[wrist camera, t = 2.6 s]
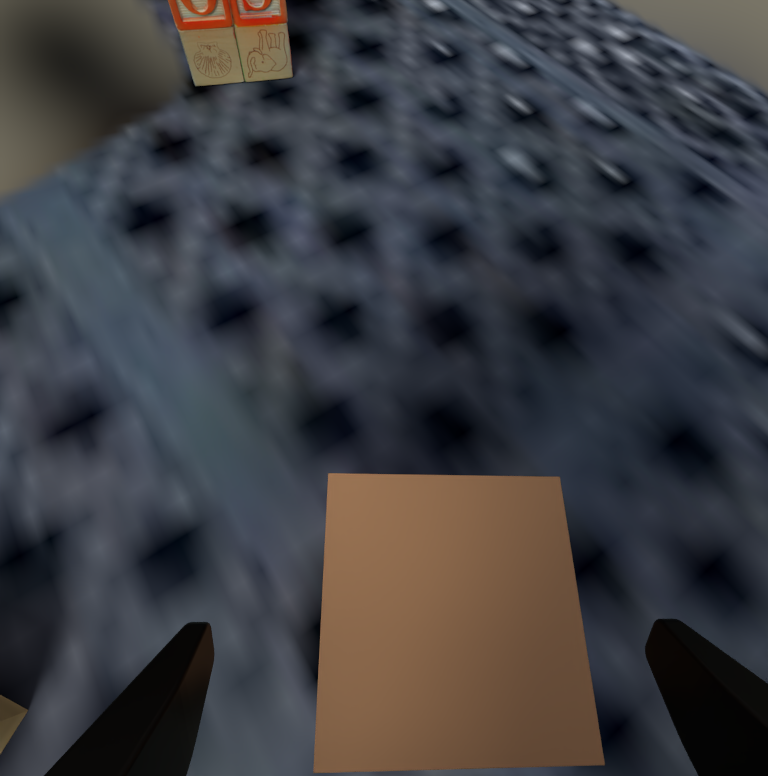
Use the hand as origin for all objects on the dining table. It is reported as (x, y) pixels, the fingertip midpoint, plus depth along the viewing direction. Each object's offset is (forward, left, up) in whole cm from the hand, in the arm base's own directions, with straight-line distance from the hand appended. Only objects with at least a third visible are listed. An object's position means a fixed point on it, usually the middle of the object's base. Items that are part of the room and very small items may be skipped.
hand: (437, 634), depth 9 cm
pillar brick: (+1, 0, -8) cm, 8 cm away
